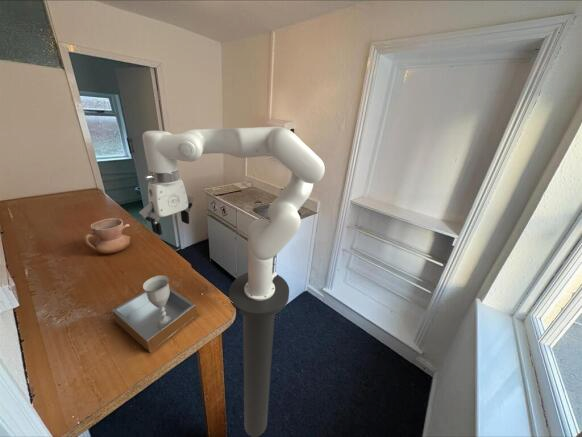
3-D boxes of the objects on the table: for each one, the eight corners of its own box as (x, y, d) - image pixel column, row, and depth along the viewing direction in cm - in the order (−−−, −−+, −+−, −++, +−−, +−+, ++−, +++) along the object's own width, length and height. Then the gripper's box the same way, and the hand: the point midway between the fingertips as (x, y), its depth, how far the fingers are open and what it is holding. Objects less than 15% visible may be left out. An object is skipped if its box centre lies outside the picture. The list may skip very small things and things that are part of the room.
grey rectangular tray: (163, 292, 92) (160, 281, 90) (196, 315, 84) (195, 304, 81) (115, 321, 79) (111, 310, 76) (150, 352, 70) (146, 341, 68)
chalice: (159, 336, 75) (149, 294, 67) (149, 325, 78) (138, 283, 70) (181, 322, 80) (173, 282, 72) (170, 312, 84) (162, 272, 76)
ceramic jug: (129, 237, 125) (123, 213, 119) (138, 248, 117) (132, 223, 111) (86, 249, 113) (77, 223, 107) (93, 263, 105) (84, 235, 98)
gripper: (141, 185, 59) (153, 242, 66) (197, 173, 73) (202, 222, 80) (125, 179, 62) (138, 234, 70) (182, 169, 76) (188, 216, 83)
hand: (172, 227), depth 75 cm, fingers open, 9 cm apart
